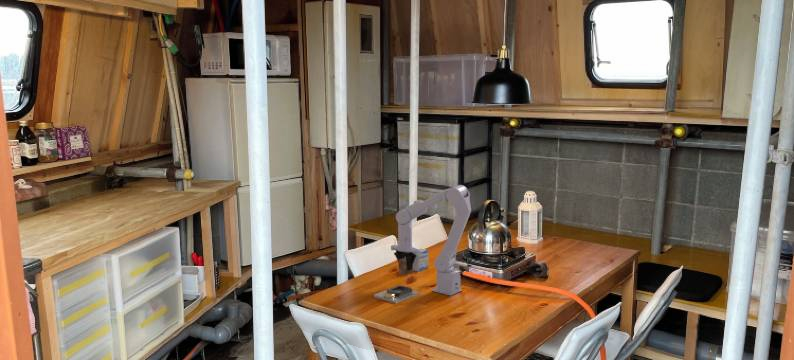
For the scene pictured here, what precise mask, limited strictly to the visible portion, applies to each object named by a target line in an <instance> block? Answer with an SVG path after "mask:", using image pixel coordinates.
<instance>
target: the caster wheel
mask: <svg viewBox="0 0 794 360" xmlns="http://www.w3.org/2000/svg"><path fill="white" fill-rule="evenodd" d="M529 266H530V267H528V266H526V267H527V268H526V267H525V272H526V274H532V276H533V277H536V278H537V277H545V276H547V277H549V270H550V268H549V266H548V261H547V260H546V261H538V262H537V261H535V262H531V265H529Z"/></svg>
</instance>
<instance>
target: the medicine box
mask: <svg viewBox="0 0 794 360" xmlns="http://www.w3.org/2000/svg"><path fill="white" fill-rule="evenodd" d="M419 250H420V255H417V256H416V258H415V260H414V262H413V272H417V273H419V272H421V271H424V270H427V269H428V268H429V250H428V249H424V248H420V249H419Z"/></svg>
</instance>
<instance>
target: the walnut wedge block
mask: <svg viewBox="0 0 794 360" xmlns="http://www.w3.org/2000/svg"><path fill="white" fill-rule="evenodd" d="M412 273H414V271H413V266H412V270H407V261H406V257H405V258H403V259H400V260H399V263H398V274H399V275H403V276H407V275H410V274H412Z"/></svg>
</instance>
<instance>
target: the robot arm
mask: <svg viewBox="0 0 794 360" xmlns="http://www.w3.org/2000/svg"><path fill="white" fill-rule="evenodd" d="M470 196H471V194H470V192H469V190H468V188H467V187H466V186H464V184H463V185H462V184H458V185H456V186H454V187H449V188H447V189H444V190H442V191H439V192H438V193H436V194H434V195H433V196H430V197H429V198H428V199H426V200H421V199H420V200H419V199H418V200H417V199H416V200H415V201H413V203H412V204H411V205H405V207H404V209H400V210H399V211H397V212H396V214H395V220H396V222H397V226H398V227H397V229H398V231H397V233H398V234H397V235H398V236H397V237H398V245H397V244H392V245H390V251H395V252H393V253H394V254H393V255H394V256H395V258H396V260H397V263H398V264H399V260H400V259H403V258H406V261H407V270H412V266H413V262H414V260H415V258H416V256H417V255H420V250H419V249H418V248H415V247H413V226H412V225H413V222H412V221H413V220H416V218H418V217H420V216H422V215H424V214H426V213H427V212H428V208H430V207H433V206H434V205H437V204H438V203H440V202H445V203H446V202H448V203H449V204H450V205H451V206H453V208H454V209H455V211H456V215H455V217H454V220H453V223H452V225H451V228H450V231H449V233H448V235H447V238H446V241H445V244H444V246H443V248H441V251H440V253H439V255H438V256H437V257H436V258H435V259H434V262H433V263H434V267H435V269H436V288H434V289H432V292H435V293H438V294H439V293H440V294H442V295H447V296H453V295H456V294H458V293H459V292H462V289H461V285H462V284H461V283H462V282H461V281H462V280H461V277H462V276H461V274H460V273H459V272H458V271H456V270H455V267H454V265H455V263H456V262H457V253H458V252H457V249H458V246H459V243H460V241H461V239H462V236H463V233H464V230H465V229H466V226H467V223H468V220H469V218H470V216H471V213H472V207H471V206H472V205H471V199H470Z"/></svg>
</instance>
